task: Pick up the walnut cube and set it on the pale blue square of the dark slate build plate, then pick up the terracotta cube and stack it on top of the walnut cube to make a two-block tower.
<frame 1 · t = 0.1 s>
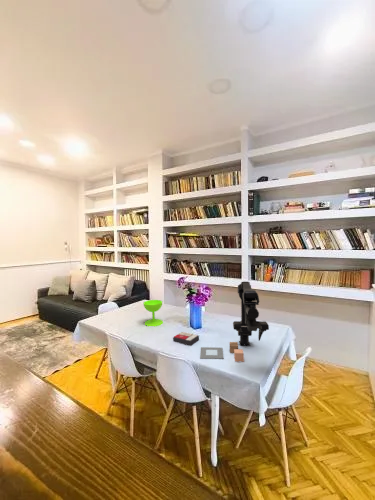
hand: (250, 340, 138), 15 cm above the table, tool pointing down, fingers open, 9 cm apart
top block: (238, 359, 147), on the table
base block: (233, 351, 157), on the table
build plate: (211, 353, 155), on the table
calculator: (186, 341, 175), on the table
wineglass: (153, 323, 212), on the table
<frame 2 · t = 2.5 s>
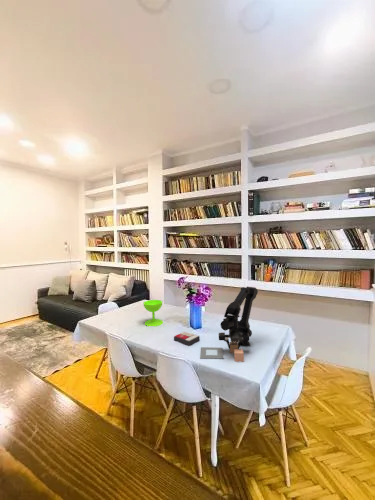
hand: (233, 349, 157), 1 cm above the table, tool pointing down, fingers closed on base block, 5 cm apart
base block: (233, 351, 157), on the table, touching gripper
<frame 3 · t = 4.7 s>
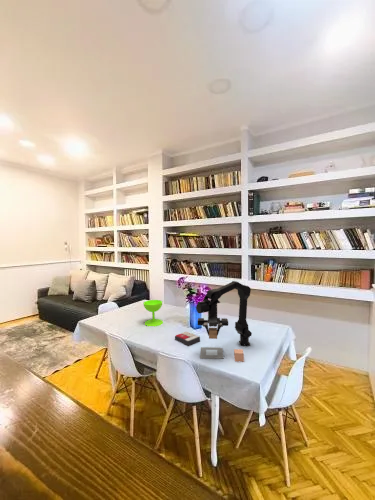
hand: (212, 335, 155), 11 cm above the table, tool pointing down, fingers closed on base block, 5 cm apart
base block: (212, 337, 155), point 10 cm above the table, touching gripper
when the fingers open (3 cm above the table, at t = 6.7 s): base block drops 2 cm, resting on build plate.
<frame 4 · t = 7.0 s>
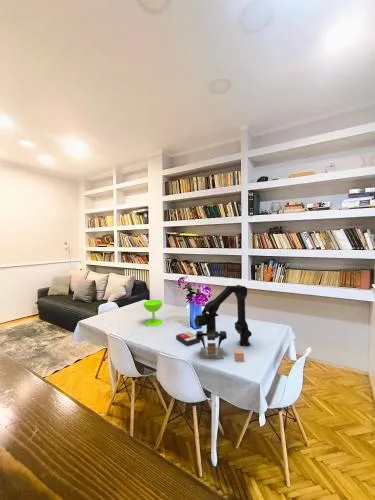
hand: (211, 348, 155), 3 cm above the table, tool pointing down, fingers open, 8 cm apart
base block: (211, 352, 155), resting on build plate
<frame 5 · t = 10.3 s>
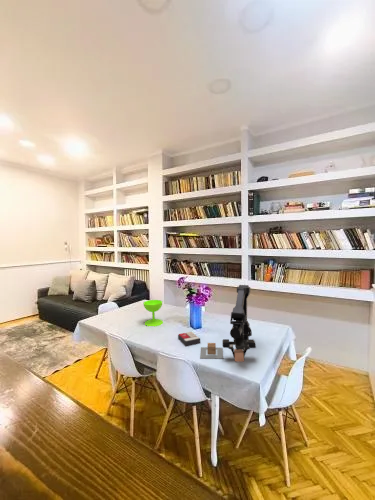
hand: (238, 357, 147), 1 cm above the table, tool pointing down, fingers closed on top block, 5 cm apart
top block: (238, 359, 147), on the table, touching gripper
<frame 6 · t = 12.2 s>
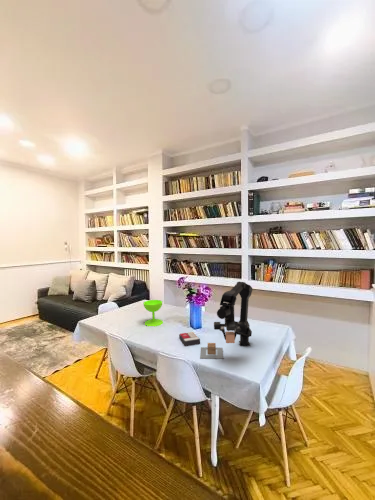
hand: (229, 339, 149), 11 cm above the table, tool pointing down, fingers closed on top block, 5 cm apart
top block: (230, 341, 149), point 10 cm above the table, touching gripper
when the fingers open (8 cm above the table, at t = 14.2 s): top block drops 1 cm, resting on base block.
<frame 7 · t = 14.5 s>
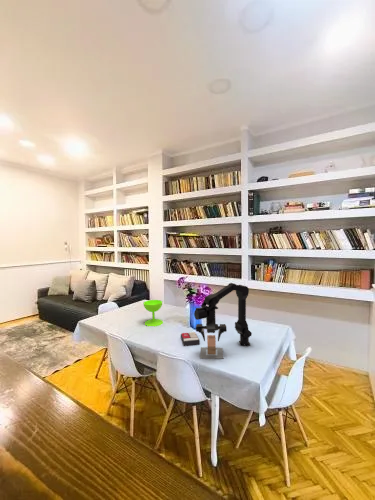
hand: (211, 341, 155), 8 cm above the table, tool pointing down, fingers open, 8 cm apart
top block: (211, 344, 155), point 5 cm above the table, touching base block
base block: (211, 352, 155), resting on build plate, touching top block
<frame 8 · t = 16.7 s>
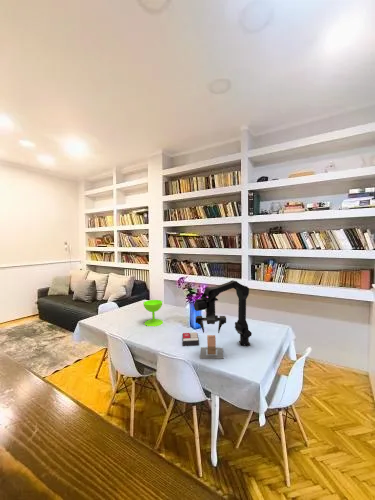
hand: (211, 332, 155), 13 cm above the table, tool pointing down, fingers open, 9 cm apart
at the end: base block 0.0 cm off-centre on the build plate, point 0.5 cm above the build plate's base; top block 0.0 cm off-centre on the base block, point 5.0 cm above the base block's base; top block tilted 0° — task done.
